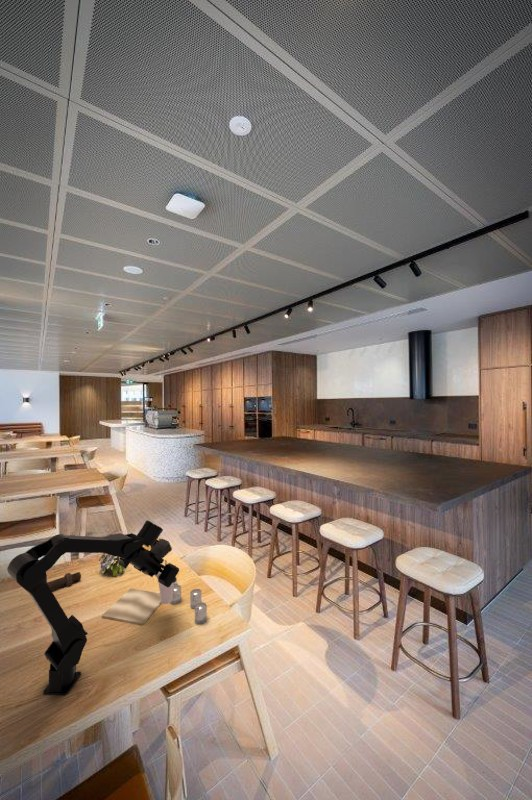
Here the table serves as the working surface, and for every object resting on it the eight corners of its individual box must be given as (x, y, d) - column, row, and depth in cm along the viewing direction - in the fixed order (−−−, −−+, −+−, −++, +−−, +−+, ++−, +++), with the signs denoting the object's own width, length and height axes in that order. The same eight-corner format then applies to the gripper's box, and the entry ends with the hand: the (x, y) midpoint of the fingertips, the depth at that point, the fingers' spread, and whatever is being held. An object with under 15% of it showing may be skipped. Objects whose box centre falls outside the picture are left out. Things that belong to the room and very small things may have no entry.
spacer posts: (199, 626, 109) (199, 611, 109) (168, 601, 122) (168, 588, 122) (217, 614, 115) (217, 600, 115) (185, 592, 128) (185, 579, 127)
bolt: (80, 585, 135) (37, 600, 124) (77, 575, 138) (34, 589, 127) (83, 575, 133) (39, 590, 122) (79, 565, 136) (37, 579, 125)
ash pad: (142, 625, 109) (142, 622, 109) (101, 617, 113) (101, 615, 113) (167, 596, 125) (167, 594, 125) (130, 590, 128) (130, 588, 128)
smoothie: (168, 592, 118) (168, 554, 118) (179, 599, 114) (180, 559, 114) (153, 601, 113) (153, 562, 113) (164, 609, 109) (165, 567, 109)
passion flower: (103, 585, 141) (94, 558, 145) (129, 571, 148) (119, 546, 152) (107, 581, 133) (97, 553, 137) (133, 567, 140) (123, 540, 144)
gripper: (174, 543, 104) (200, 563, 113) (141, 528, 116) (167, 547, 125) (153, 578, 98) (181, 596, 107) (120, 559, 109) (149, 577, 118)
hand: (169, 577), depth 115 cm, fingers closed on smoothie, 6 cm apart
